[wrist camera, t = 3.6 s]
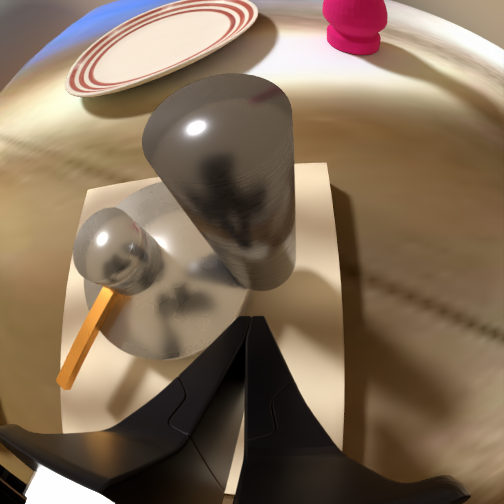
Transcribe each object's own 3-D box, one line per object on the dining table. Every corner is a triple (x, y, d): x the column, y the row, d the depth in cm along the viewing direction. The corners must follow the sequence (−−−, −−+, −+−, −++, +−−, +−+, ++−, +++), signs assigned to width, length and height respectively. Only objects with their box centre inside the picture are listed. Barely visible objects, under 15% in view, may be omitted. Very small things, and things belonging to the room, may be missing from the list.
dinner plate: (131, 23, 38) (125, 11, 35) (276, 3, 32) (273, -14, 29) (45, 126, 30) (32, 112, 26) (228, 106, 24) (220, 78, 21)
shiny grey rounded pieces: (297, 411, 13) (301, 533, 3) (82, 386, 15) (-68, 377, 4) (291, 188, 17) (277, 17, 7) (103, 207, 19) (3, 110, 9)
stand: (334, 480, 13) (338, 494, 11) (81, 444, 15) (63, 449, 13) (324, 179, 20) (326, 161, 18) (100, 201, 22) (87, 188, 20)
